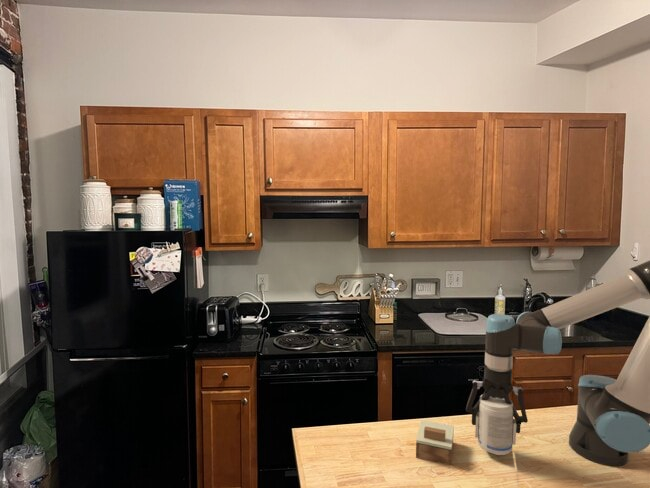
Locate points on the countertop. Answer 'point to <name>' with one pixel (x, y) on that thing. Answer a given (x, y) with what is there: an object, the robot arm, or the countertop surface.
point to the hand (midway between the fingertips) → (494, 438)
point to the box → (434, 453)
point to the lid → (435, 434)
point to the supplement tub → (495, 426)
